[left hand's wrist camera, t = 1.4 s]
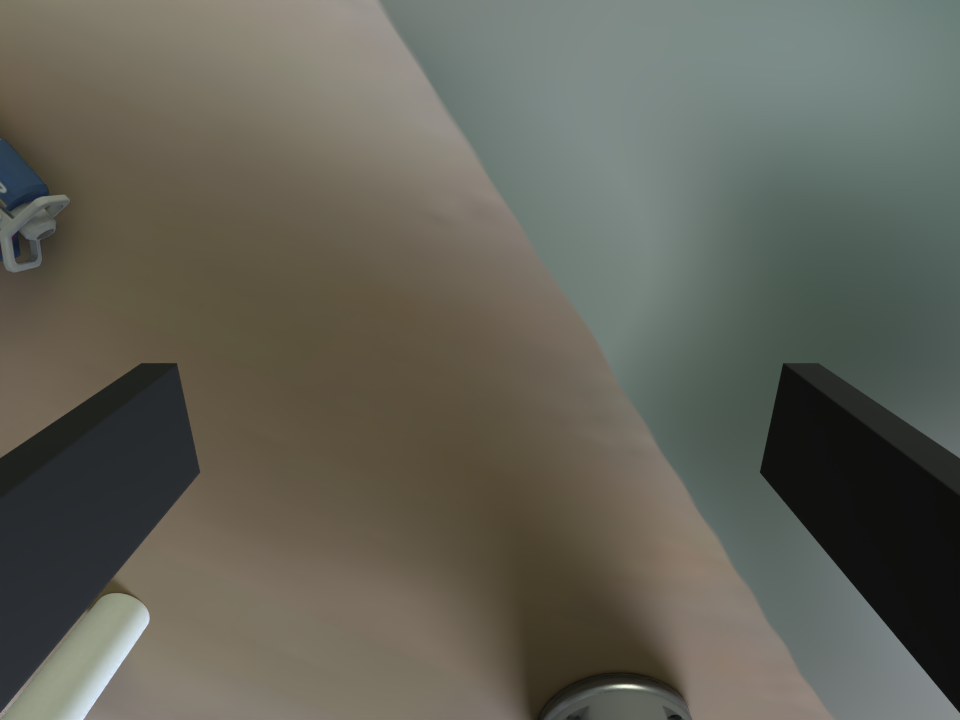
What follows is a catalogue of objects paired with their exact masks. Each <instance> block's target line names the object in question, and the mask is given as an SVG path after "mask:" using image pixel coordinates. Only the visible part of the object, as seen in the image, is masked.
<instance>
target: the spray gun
mask: <svg viewBox="0 0 960 720" xmlns="http://www.w3.org/2000/svg"><path fill="white" fill-rule="evenodd" d="M48 195H49V191H48V188H47V186H46V184H45V183H44V182H43V181H42V180H41V179H40V178H39V177H38V176H37V174H36V173H35V172H34V171H33V170H32V169H31V168H30V167H29V165H28V164H27V163H26V162H25V161H24V160H23V159H22V158H21V156H20V155H19V154H18V153H17V152H16V151H15V150H14V149H13V147H12V146H11V145H10V144H9V143H8V142H7V141H6V140H4V139H2V138H1V137H0V261H1V260H3V262H4V266H5V268H6V269H7V270H8V271H10V272H15V273H16V272H20V271H24V270H27V269H31V268H35V267H38V266H39V265H40V264H41V262H42V254H41V246H40V240H42V239H44V238H46V237H48V236H50V235H51V234H52V233H54V232H55V230H56V223H57V222H56V220H55V219H54V217H55V216H56V215H57V214H58V213H59V212H60V211H62V210H63V209H64V208H65V207H66V206H67V205H68V204H69V203H70V200H69V198H68V197H67V196H66V195H54V196H48ZM48 206H50V207H49V208H48V209H47V210H45V209H44V208H46V207H48ZM17 231H19V232H20V233H21V234H22V235H23V236H24V237H25V238H26V239H29V244H30V252H31V256H30V259H29V260H28V261H26V262H21V263H16V262H15V257H18V256H19V255H20V249H19V242H18V234H17Z"/></svg>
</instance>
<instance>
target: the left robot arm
mask: <svg viewBox="0 0 960 720" xmlns="http://www.w3.org/2000/svg"><path fill="white" fill-rule="evenodd" d="M199 473H200V470H199V465H198V460H197V456H196V451H195V446H194V442H193V437H192V432H191V428H190V423H189V418H188V414H187V409H186V404H185V399H184V395H183V390H182V385H181V381H180V376H179V371H178V367H177V363H141V364H140V365H138V366H137V367H135V368H134V369H132V370H131V371H129V372H128V373H126V374H125V375H123V376H122V377H120V378H119V379H117V380H116V381H114V382H113V383H112V384H110V385H109V386H107V387H106V388H104V389H103V390H101V391H100V392H98V393H97V394H95V395H94V396H92V397H91V398H89V399H88V400H86V401H85V402H83V403H82V404H80V405H79V406H77V407H76V408H74V409H73V410H71V411H70V412H68V413H67V414H65V415H64V416H62V417H61V418H60V419H58V420H57V421H55V422H54V423H52V424H51V425H49V426H48V427H46V428H45V429H43V430H42V431H40V432H39V433H37V434H36V435H34V436H33V437H31V438H30V439H28V440H27V441H25V442H24V443H22V444H21V445H19V446H18V447H16V448H15V449H13V450H12V451H10V452H9V453H8V454H6V455H5V456H3V457H2V458H0V713H1V711H2V710H3V709H4V708H5V707H6V705H7V704H8V703H9V702H10V701H11V699H12V698H13V697H14V696H15V695H16V693H17V692H18V691H19V690H20V689H21V687H22V686H23V685H24V684H25V683H26V681H27V680H28V679H29V678H30V677H31V675H32V674H33V673H34V672H35V671H36V669H37V668H38V667H39V666H40V664H41V663H42V662H43V661H44V660H45V658H46V657H47V656H48V655H49V654H50V652H51V651H52V650H53V649H54V648H55V646H56V645H57V644H58V643H59V642H60V640H61V639H62V638H63V637H64V636H65V634H66V633H67V632H68V631H69V630H70V628H71V627H72V626H73V625H74V624H75V622H76V621H77V620H78V619H79V618H80V616H81V615H82V614H83V613H84V612H85V610H86V609H87V608H88V607H89V606H90V604H91V603H92V602H93V601H94V599H95V598H96V597H97V596H98V595H99V593H100V592H101V591H102V590H103V589H104V587H105V586H106V585H107V584H108V583H109V581H110V580H111V579H112V578H113V577H114V575H115V574H116V573H117V572H118V571H119V569H120V568H121V567H122V566H123V565H124V563H125V562H126V561H127V560H128V559H129V557H130V556H131V555H132V554H133V553H134V551H135V550H136V549H137V548H138V547H139V545H140V544H141V543H142V542H143V541H144V539H145V538H146V537H147V536H148V534H149V533H150V532H151V531H152V530H153V528H154V527H155V526H156V525H157V524H158V522H159V521H160V520H161V519H162V518H163V516H164V515H165V514H166V513H167V512H168V510H169V509H170V508H171V507H172V506H173V504H174V503H175V502H176V501H177V500H178V498H179V497H180V496H181V495H182V494H183V492H184V491H185V490H186V489H187V488H188V486H189V485H190V484H191V483H192V482H193V480H194V479H195V478H196V477H197V476H198V474H199ZM760 473H761V474H762V476H763V477H764V478H765V479H766V480H767V482H768V483H769V484H770V485H771V486H772V488H773V489H774V490H775V491H776V492H777V494H778V495H779V496H780V497H781V498H782V500H783V501H784V502H785V503H786V504H787V506H788V507H789V508H790V509H791V510H792V512H793V513H794V514H795V515H796V516H797V518H798V519H799V520H800V521H801V522H802V524H803V525H804V526H805V527H806V528H807V530H808V531H809V532H810V533H811V534H812V536H813V537H814V538H815V539H816V541H817V542H818V543H819V544H820V545H821V546H822V548H823V549H824V550H825V551H826V552H827V554H828V555H829V556H830V557H831V559H832V560H833V561H834V562H835V563H836V565H837V566H838V567H839V568H840V569H841V571H842V572H843V573H844V574H845V575H846V577H847V578H848V579H849V580H850V581H851V583H852V584H853V585H854V586H855V587H856V589H857V590H858V591H859V592H860V593H861V595H862V596H863V597H864V598H865V599H866V601H867V602H868V603H869V604H870V606H871V607H872V608H873V609H874V610H875V612H876V613H877V614H878V615H879V616H880V618H881V619H882V620H883V621H884V622H885V624H886V625H887V626H888V627H889V628H890V630H891V631H892V632H893V633H894V634H895V636H896V637H897V638H898V639H899V640H900V642H901V643H902V644H903V645H904V646H905V648H906V649H907V650H908V651H909V652H910V654H911V655H912V656H913V657H914V658H915V660H916V661H917V662H918V663H919V664H920V666H921V667H922V668H923V669H924V670H925V672H926V673H927V674H928V675H929V676H930V678H931V679H932V680H933V681H934V683H935V684H936V685H937V686H938V687H939V689H940V690H941V691H942V692H943V693H944V694H945V696H946V697H947V698H948V699H949V701H950V702H951V703H952V704H953V705H954V707H955V708H956V709H957V710H958V711H959V713H960V458H958V457H957V456H955V455H954V454H952V453H951V452H950V451H948V450H947V449H945V448H944V447H942V446H941V445H939V444H938V443H936V442H935V441H933V440H932V439H930V438H929V437H927V436H926V435H924V434H923V433H921V432H920V431H918V430H917V429H915V428H914V427H912V426H911V425H909V424H908V423H906V422H905V421H903V420H902V419H900V418H899V417H898V416H896V415H895V414H893V413H892V412H890V411H889V410H887V409H886V408H884V407H883V406H881V405H880V404H878V403H877V402H875V401H874V400H872V399H871V398H869V397H868V396H866V395H865V394H863V393H862V392H860V391H859V390H857V389H856V388H854V387H853V386H851V385H850V384H848V383H847V382H846V381H844V380H843V379H841V378H840V377H838V376H837V375H835V374H834V373H832V372H831V371H829V370H828V369H826V368H825V367H823V366H822V365H820V364H819V363H783V367H782V371H781V376H780V381H779V385H778V390H777V395H776V399H775V404H774V409H773V414H772V418H771V423H770V428H769V432H768V437H767V442H766V446H765V451H764V456H763V460H762V465H761V470H760ZM539 720H692V718H691V715H690V712H689V709H688V707H687V705H686V703H685V701H684V700H683V698H682V697H681V696H680V695H679V694H678V693H677V692H676V691H675V690H674V689H672V688H671V687H670V686H668V685H666V684H665V683H663V682H661V681H658V680H656V679H653V678H650V677H647V676H643V675H637V674H629V673H612V674H603V675H598V676H593V677H589V678H586V679H583V680H581V681H578V682H576V683H574V684H572V685H570V686H568V687H566V688H565V689H563V690H562V691H560V692H559V693H558V694H556V695H555V696H554V697H553V698H552V699H551V700H550V701H549V702H548V703H547V705H546V706H545V708H544V709H543V711H542V713H541V715H540V717H539Z"/></svg>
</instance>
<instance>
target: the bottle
mask: <svg viewBox="0 0 960 720" xmlns="http://www.w3.org/2000/svg"><path fill="white" fill-rule="evenodd" d="M148 623H149V613H148V610H147V608H146V607H145V606H144V604H143V603H141V602H140V601H139V600H138V599H136V598H134V597H132V596H130V595H127V594H122V593H111V594H107V595H105V596H103V597H101V598H100V599H99V600H98V601H97V602H96V604H95V605H94V606H93V607H92V608H91V610H90V611H89V612H88V613H87V614H86V616H85V617H84V618H83V619H82V621H81V622H80V623H79V624H78V625H77V627H76V628H75V629H74V630H73V632H72V633H71V634H70V635H69V636H68V638H67V639H66V640H65V641H64V642H63V644H62V645H61V646H60V647H59V649H58V650H57V651H56V652H55V653H54V655H53V656H52V657H51V658H50V660H49V661H48V662H47V663H46V664H45V666H44V667H43V668H42V669H41V670H40V672H39V673H38V674H37V675H36V677H35V678H34V679H33V680H32V681H31V683H30V684H29V685H28V686H27V688H26V689H25V690H24V691H23V692H22V694H21V695H20V696H19V697H18V698H17V700H16V701H15V702H14V703H13V705H12V706H11V707H10V708H9V709H8V711H7V712H6V713H5V714H4V715H3V717H2V718H1V719H0V720H83V719H84V717H85V716H86V715H87V713H88V712H89V710H90V709H91V707H92V706H93V704H94V703H95V701H96V700H97V698H98V697H99V695H100V694H101V692H102V691H103V690H104V688H105V687H106V685H107V684H108V682H109V681H110V679H111V678H112V676H113V675H114V673H115V672H116V670H117V669H118V667H119V666H120V664H121V663H122V662H123V660H124V659H125V657H126V656H127V654H128V653H129V651H130V650H131V648H132V647H133V645H134V644H135V642H136V641H137V639H138V638H139V637H140V635H141V634H142V632H143V631H144V629H145V628H146V626H147V625H148Z"/></svg>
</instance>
